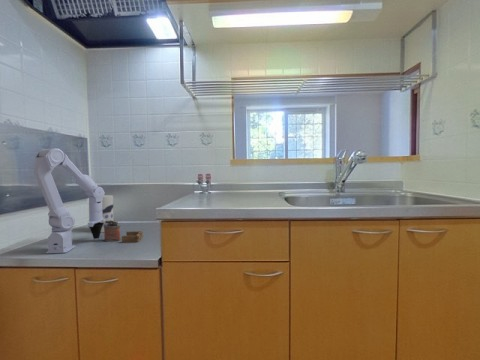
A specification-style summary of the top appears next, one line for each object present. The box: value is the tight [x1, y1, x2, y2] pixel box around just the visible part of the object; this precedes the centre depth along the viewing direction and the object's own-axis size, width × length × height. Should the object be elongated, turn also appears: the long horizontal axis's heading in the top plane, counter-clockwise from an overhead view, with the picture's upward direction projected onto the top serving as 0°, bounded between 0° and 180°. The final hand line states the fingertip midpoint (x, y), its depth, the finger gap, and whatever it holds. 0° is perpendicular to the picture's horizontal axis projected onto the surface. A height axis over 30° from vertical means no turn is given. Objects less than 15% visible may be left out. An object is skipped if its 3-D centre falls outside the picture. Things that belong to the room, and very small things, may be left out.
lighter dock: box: [121, 230, 144, 244], centre depth 131 cm, size 10×8×3 cm
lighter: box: [103, 220, 122, 243], centre depth 129 cm, size 8×3×10 cm, turn 84°
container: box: [100, 194, 115, 234], centre depth 149 cm, size 10×10×20 cm
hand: (96, 238), depth 128 cm, fingers closed
